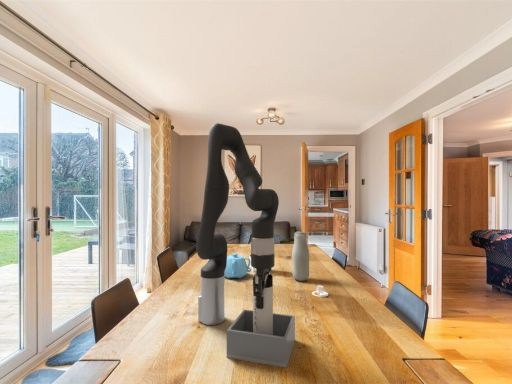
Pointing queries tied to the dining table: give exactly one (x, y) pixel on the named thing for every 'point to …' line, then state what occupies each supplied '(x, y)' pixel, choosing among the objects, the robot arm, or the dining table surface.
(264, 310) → the travel mug
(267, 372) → the dining table surface
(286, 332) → the crate
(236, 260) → the decorative pot
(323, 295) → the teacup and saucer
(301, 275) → the grey bottle
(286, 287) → the dining table surface
